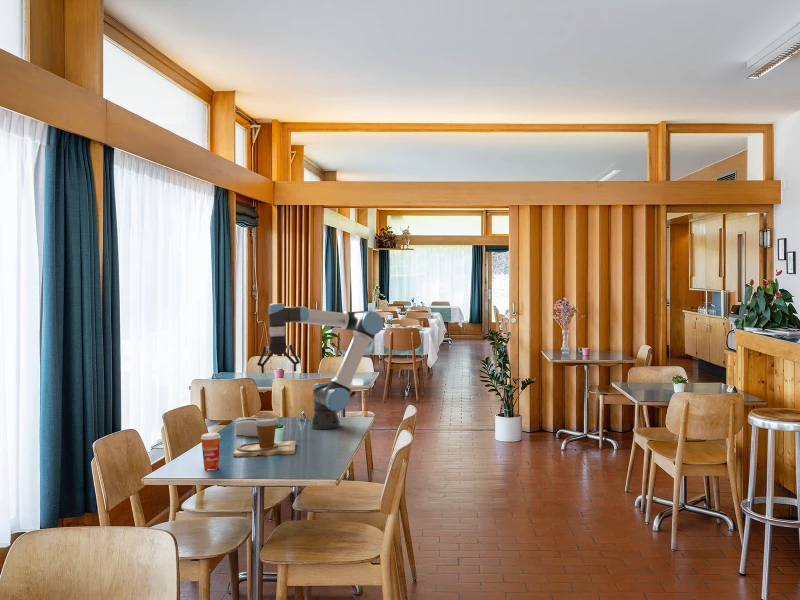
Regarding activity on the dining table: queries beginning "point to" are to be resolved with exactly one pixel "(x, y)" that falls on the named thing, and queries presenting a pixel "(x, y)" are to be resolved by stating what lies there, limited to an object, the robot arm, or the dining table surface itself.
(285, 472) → the dining table surface
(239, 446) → the wooden board
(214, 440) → the paper cup
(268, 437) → the disposable coffee cup
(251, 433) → the napkin holder
